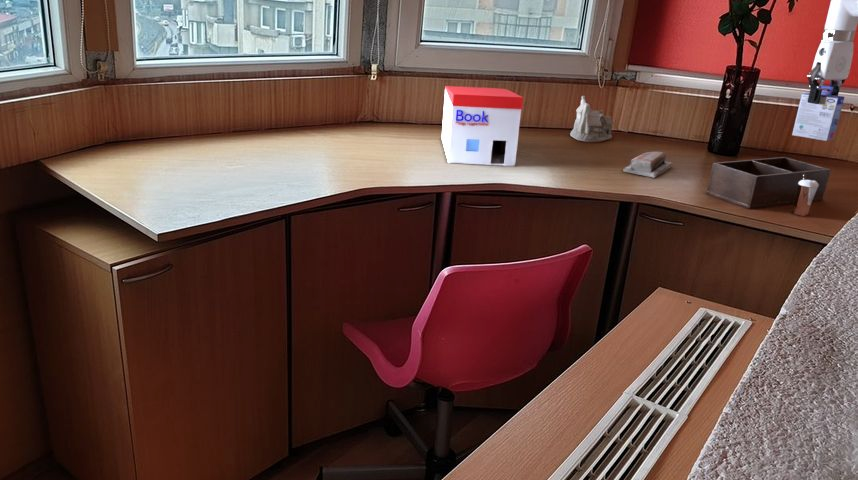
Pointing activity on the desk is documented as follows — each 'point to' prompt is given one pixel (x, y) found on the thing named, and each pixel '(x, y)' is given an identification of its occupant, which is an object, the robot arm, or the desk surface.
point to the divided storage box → (764, 181)
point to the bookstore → (481, 125)
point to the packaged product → (649, 164)
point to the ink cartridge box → (818, 116)
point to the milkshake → (805, 196)
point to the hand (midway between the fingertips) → (821, 102)
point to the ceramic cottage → (591, 124)
